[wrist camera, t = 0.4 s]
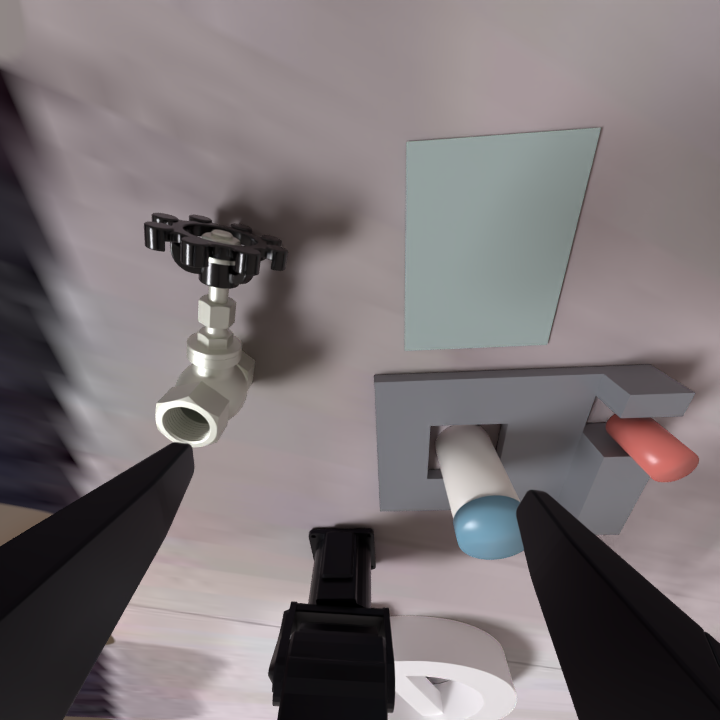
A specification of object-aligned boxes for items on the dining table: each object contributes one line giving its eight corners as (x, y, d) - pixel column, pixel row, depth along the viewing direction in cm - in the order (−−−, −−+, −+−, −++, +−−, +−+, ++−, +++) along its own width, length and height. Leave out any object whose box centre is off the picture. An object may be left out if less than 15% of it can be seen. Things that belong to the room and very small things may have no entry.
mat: (545, 343, 22) (547, 344, 21) (404, 349, 22) (404, 350, 22) (598, 128, 16) (601, 127, 16) (406, 142, 16) (406, 142, 16)
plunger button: (638, 436, 23) (687, 481, 19) (600, 437, 23) (642, 482, 19) (652, 407, 22) (706, 450, 18) (612, 408, 22) (659, 451, 18)
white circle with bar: (449, 703, 56) (455, 745, 51) (294, 678, 52) (287, 721, 48) (543, 635, 43) (562, 683, 39) (346, 595, 39) (343, 644, 35)
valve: (272, 398, 25) (300, 241, 19) (243, 463, 19) (270, 265, 13) (185, 378, 24) (187, 208, 18) (127, 439, 18) (103, 218, 12)
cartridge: (486, 463, 27) (527, 559, 20) (432, 464, 27) (454, 559, 20) (494, 421, 25) (543, 512, 18) (435, 423, 25) (461, 513, 18)
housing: (592, 497, 29) (618, 534, 26) (379, 501, 30) (381, 537, 27) (650, 364, 22) (695, 392, 19) (374, 375, 23) (374, 403, 20)
